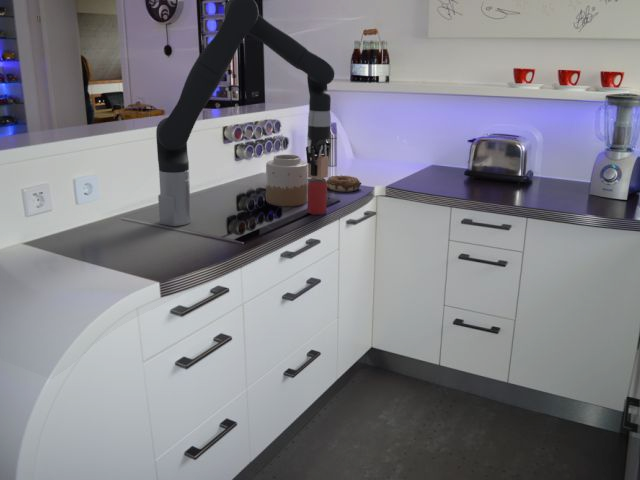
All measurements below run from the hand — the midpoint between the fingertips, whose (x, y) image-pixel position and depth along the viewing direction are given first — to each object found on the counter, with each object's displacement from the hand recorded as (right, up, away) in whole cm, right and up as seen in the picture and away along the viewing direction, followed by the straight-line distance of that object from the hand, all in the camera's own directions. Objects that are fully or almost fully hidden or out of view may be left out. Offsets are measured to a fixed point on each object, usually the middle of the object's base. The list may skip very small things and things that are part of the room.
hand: (317, 174), depth 206 cm
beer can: (0, -13, +4) cm, 14 cm away
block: (0, -1, 0) cm, 1 cm away
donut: (+10, -2, +40) cm, 41 cm away
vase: (-12, -8, +18) cm, 24 cm away
